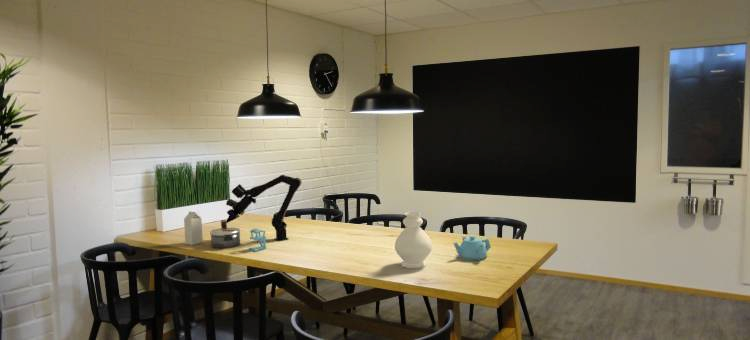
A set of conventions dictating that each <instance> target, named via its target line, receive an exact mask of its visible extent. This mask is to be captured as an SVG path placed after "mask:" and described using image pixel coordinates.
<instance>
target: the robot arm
mask: <svg viewBox="0 0 750 340" xmlns="http://www.w3.org/2000/svg"><path fill="white" fill-rule="evenodd" d="M281 183H283V184H286V185H288V192H287V193H286V195H285V198H284V200H283V201H282V205H281V206H280V209H279V211H278V212H275V213H274V214H273V216H272V218H271V226H272V227H274V230H275V238H274V240H275V241H279V242H281V241H286V240H289V239H290V238H289V237H287V225H288V224H287V223H286V222H285V221H284V220H285V215H286V213H287V211H288V208H289V206H290V204H291V201H292V200H293V198H294V195H295V193H296V192H298V189H299V188H300V187H301V185H302V183H303V182H302V179H301V178H300V177H293V176H289V175H288V176H287V175H285V174H281V175H279V176H278V177H275V178H274V179H272V180H270V181H267V182H266V183H263V184H260V185H256V186H254V187H252V188H249V189H245V188H244V187H243V186H242V185H241V184H240V183H239V184H238V185H237V186H235V187H234V188H233V189H232V190H231V193H232V194H233V195H234V196H235V197H236V198H237V199H240V200H239V201H236V200H234V199H232V198H228V199H227V201H226V202H225V206H229V207H231V209H229V210H228V211H226V213H227V215H228V218H226V223H227V224H228V223H230V222H232V221H234V220H235V221H236V220H237V219H238V218H239V217H240V216H243V215H244V214H245V211H246V210H247V208H249V206H250V205H251V204H252V203H253V204H254V205H255V204H256V203H257V197H258V196H260V195H261V194H262V193H264V192H266V190H268V189H270V188H273V187H276V185H279V184H281Z"/></svg>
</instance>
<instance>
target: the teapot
mask: <svg viewBox="0 0 750 340" xmlns="http://www.w3.org/2000/svg"><path fill="white" fill-rule="evenodd" d="M453 245H454V248H455V250H456V253H457V254H458V256H459V257H460V258H461V259H462V260H466V261H481V260H483V259H485V258H486V257H487V256H488V255H487V252H488V251H490V249H491V244H490V240H489V238H488V237H485V238H482V239H481V238H478V237H476V236H475V235H469V237H467V236H462V242H461V243H460V245H459V244H458V242H454V243H453Z"/></svg>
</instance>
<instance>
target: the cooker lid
mask: <svg viewBox="0 0 750 340" xmlns="http://www.w3.org/2000/svg"><path fill="white" fill-rule="evenodd" d="M226 221H227V219H221V220H220V227H219V228H214V229H211V230H210V231H209V232H210V236H211V235H212V236H229V235H235V234H238V233H241V229H240V227H227V226H228V225H227V224H228V223H226Z"/></svg>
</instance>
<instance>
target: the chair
mask: <svg viewBox="0 0 750 340" xmlns="http://www.w3.org/2000/svg"><path fill="white" fill-rule="evenodd" d="M253 233H254V234H255V236H254V235H253ZM261 233H263V234H262V235H261ZM250 234H251V235H250V237H249V239H250V240H254V241H257V242H258V244H259V245H260V246H254V247H248V250H249V251H251V252H254V253H257V252H260V251H264V250H267V245H266V239H267V236H265V234H266V230H262V229H258V228H252V229H251V230H250Z"/></svg>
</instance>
